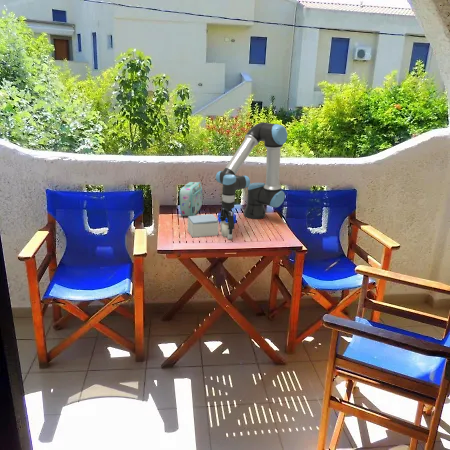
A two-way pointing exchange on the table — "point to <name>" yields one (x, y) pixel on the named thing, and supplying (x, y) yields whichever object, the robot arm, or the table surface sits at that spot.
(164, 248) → the table surface
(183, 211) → the lunch box
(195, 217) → the lid
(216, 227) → the crate
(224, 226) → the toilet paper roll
